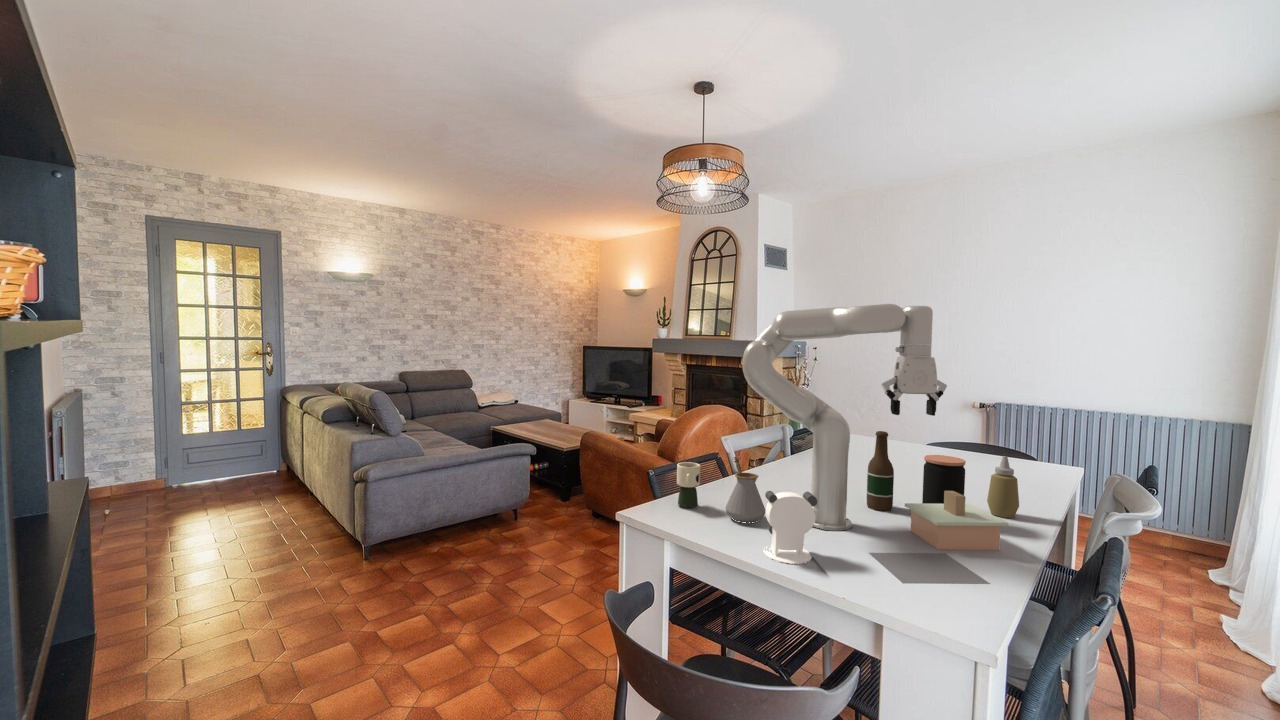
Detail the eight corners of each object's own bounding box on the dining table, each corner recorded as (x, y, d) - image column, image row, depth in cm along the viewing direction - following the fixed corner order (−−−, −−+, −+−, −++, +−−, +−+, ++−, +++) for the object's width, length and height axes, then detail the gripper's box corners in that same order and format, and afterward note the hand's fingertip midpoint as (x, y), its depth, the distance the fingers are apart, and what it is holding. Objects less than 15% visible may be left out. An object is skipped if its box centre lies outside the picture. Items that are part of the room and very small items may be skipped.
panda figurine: (805, 545, 134) (807, 487, 133) (821, 564, 122) (823, 500, 122) (758, 545, 133) (759, 486, 133) (770, 564, 122) (772, 500, 121)
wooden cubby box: (937, 551, 131) (938, 523, 131) (910, 532, 144) (911, 507, 144) (999, 551, 132) (1000, 524, 132) (966, 533, 144) (967, 508, 144)
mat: (902, 585, 112) (902, 582, 112) (868, 555, 128) (868, 552, 128) (990, 586, 113) (990, 583, 113) (945, 555, 129) (945, 553, 129)
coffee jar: (952, 514, 161) (954, 455, 160) (970, 526, 150) (973, 463, 150) (915, 512, 162) (917, 454, 161) (931, 524, 151) (933, 462, 151)
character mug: (699, 512, 158) (700, 469, 157) (675, 511, 159) (676, 468, 158) (699, 501, 169) (700, 461, 168) (676, 500, 169) (677, 460, 169)
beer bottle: (861, 503, 169) (863, 429, 168) (884, 503, 170) (887, 429, 169) (873, 511, 162) (876, 433, 161) (898, 511, 162) (901, 434, 161)
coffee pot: (770, 526, 147) (771, 473, 147) (729, 526, 147) (730, 472, 146) (751, 502, 168) (753, 456, 168) (716, 502, 168) (717, 455, 168)
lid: (936, 525, 130) (937, 502, 130) (904, 506, 145) (905, 485, 145) (1008, 526, 130) (1009, 502, 130) (969, 506, 145) (969, 485, 145)
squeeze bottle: (987, 509, 166) (989, 452, 166) (1018, 514, 161) (1021, 456, 161) (985, 515, 160) (988, 456, 159) (1018, 521, 155) (1021, 460, 154)
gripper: (890, 351, 139) (888, 416, 140) (955, 352, 139) (952, 417, 140) (877, 350, 146) (875, 412, 147) (938, 352, 147) (936, 413, 147)
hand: (913, 414), depth 143 cm, fingers open, 9 cm apart
